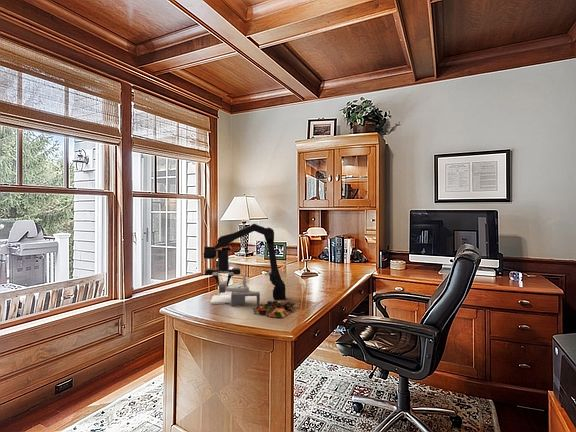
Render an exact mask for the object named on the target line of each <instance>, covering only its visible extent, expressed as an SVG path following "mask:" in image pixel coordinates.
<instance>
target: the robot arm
mask: <svg viewBox="0 0 576 432" xmlns="http://www.w3.org/2000/svg"><path fill="white" fill-rule="evenodd" d="M253 232H256V233H258V234H261V235H263V237H264V239H265V243H266V246H267V252H268V258H269V266H270V271H268V275H269V276H268V277H269V278H268V280H269V282H271V285H273V289H272V298H273V301H278V300H286V299H287V298H286V284H285V282H284V280H283V279H282V277H281V275H280V271H279V269H278V263H277V262H278V261H277V256H276V248H275V244H274V243H275V231H274V229H273V228H271V227H269V226H268V227H264V226H261V225H258V224H257V223H252V224H251V225H248V226H247V227H244V228H241V229H239V230H237V231H235V232H232V233H228V234H224V235H221V236H220V237H219V238H218V239H217V243H216V244H215V245H214V246H206V245H205V246H204V250H203V259H204V260H215V258H217V261H216V263H215V268H216V269H214V267H212V268H210V267H209V268H206V269H205V272H204V273H205V274H204V275H205V276H212V278H213V277H214V278H215V281H216V283H217V286H218V287H219V282H220V277H219V276H220V275H219V274H227V280H226V281H227V287H228V286H229V284H230V280H231V279H232V277H234V275H235V276H236V275H241V268H240V267H233V269H230V264H229V260H230V259H229V255H230V254H229V252H231V251H233V249H232V247H230V245H229V244H231V243H233V242H234V241H235V240H237V239H239V238H242V237H244V236H246V235H248V234H250V233H253ZM221 247H222V248H221Z"/></svg>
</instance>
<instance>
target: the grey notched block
mask: <svg viewBox="0 0 576 432" xmlns="http://www.w3.org/2000/svg"><path fill="white" fill-rule="evenodd" d="M230 293H231V294H230V295H231V304H230V306H231V307H245V306H246V297H256V307H257V306H258V305H259V306H260V304H261V302H260V301H261V295H260V291H247V292H230ZM260 307H261V306H260Z"/></svg>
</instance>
